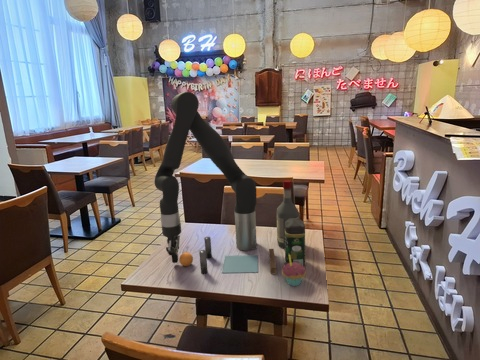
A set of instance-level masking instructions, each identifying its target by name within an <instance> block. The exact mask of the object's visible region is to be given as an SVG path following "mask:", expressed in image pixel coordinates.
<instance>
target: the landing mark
mask: <svg viewBox="0 0 480 360" xmlns="http://www.w3.org/2000/svg"><path fill="white" fill-rule="evenodd" d="M258 256H259V255H258V254H245V255H242V254H241V255H239V254H238V255H224V259H223V263H222V270H221V274H251V273H252V274H253V273H258V272H259V268H258V267H259V266H258V265H259V261H258V260H259V259H258Z"/></svg>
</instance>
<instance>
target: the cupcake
mask: <svg viewBox="0 0 480 360" xmlns="http://www.w3.org/2000/svg"><path fill="white" fill-rule="evenodd" d="M289 262H290V263H288V264H286V263H284V265H283V266H282V269H281V274H282V275H283V277H285V279H286V283H287V284H288V285H289V286H295V287H296V286H299V285H301V283H302V279H303V278H305V276H307V271H306V268H305V267H304V266H303V265H301V264H299V263H296V262H291V256H290V255H289Z"/></svg>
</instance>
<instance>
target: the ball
mask: <svg viewBox="0 0 480 360" xmlns="http://www.w3.org/2000/svg"><path fill="white" fill-rule="evenodd" d="M193 261H194V257H193V255H192V253H190V252H183V253H182V254H181V255H180V256H179V257H178V262H179V263H180V265H182V266H183V267H188V266H191V265H192V263H193Z"/></svg>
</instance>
